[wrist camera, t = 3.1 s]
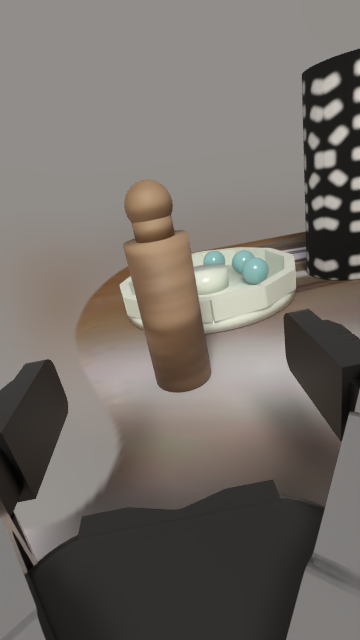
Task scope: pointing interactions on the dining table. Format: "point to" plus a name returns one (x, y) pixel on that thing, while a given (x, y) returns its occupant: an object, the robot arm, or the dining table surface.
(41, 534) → the dining table surface
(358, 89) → the white-spotted black cylinder
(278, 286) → the tray
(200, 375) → the pepper mill
